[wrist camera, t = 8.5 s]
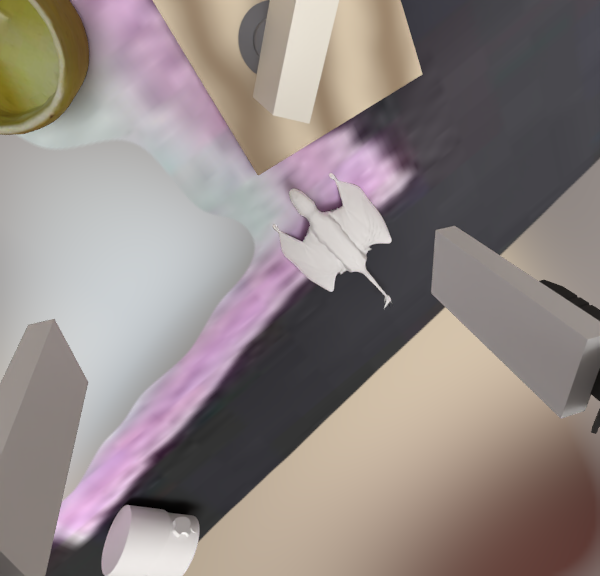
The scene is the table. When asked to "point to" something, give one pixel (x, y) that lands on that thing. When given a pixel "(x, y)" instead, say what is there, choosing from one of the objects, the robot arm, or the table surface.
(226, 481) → the table surface
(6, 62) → the mug
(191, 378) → the table surface
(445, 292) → the robot arm
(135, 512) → the white cylinder
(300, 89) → the white upright block
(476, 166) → the table surface
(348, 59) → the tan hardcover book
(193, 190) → the table surface
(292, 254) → the winged dragon toy
